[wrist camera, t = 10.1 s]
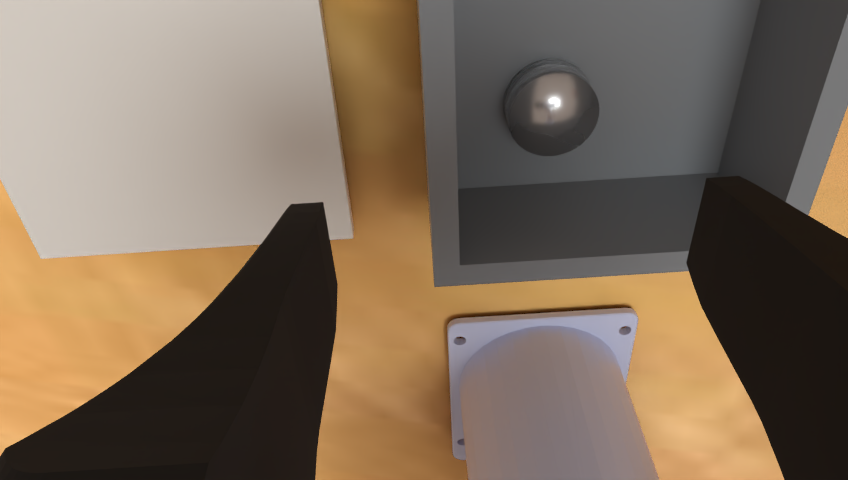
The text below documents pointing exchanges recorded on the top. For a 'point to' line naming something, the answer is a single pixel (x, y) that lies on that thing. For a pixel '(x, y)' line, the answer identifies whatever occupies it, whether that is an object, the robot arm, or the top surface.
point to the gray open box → (620, 126)
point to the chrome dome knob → (550, 107)
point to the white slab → (166, 122)
